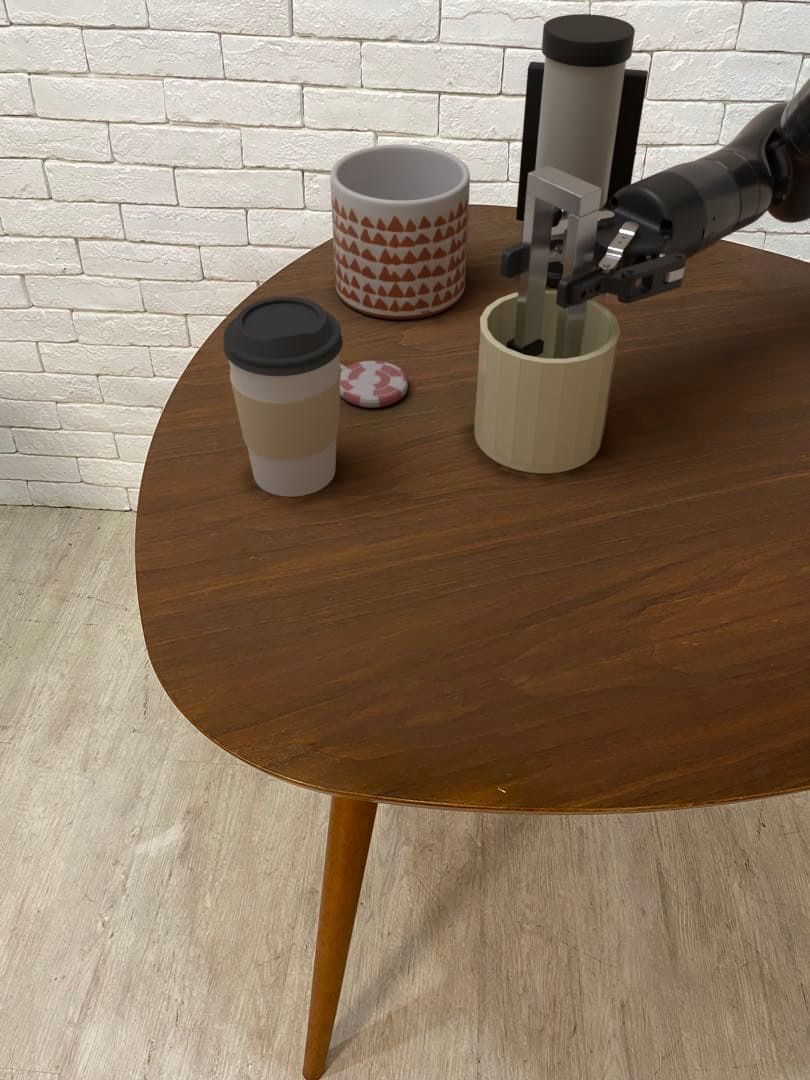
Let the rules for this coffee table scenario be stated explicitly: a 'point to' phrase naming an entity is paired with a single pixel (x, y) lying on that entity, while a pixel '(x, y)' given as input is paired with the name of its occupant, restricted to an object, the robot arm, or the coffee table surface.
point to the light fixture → (582, 108)
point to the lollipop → (372, 383)
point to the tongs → (541, 198)
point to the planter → (400, 230)
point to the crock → (543, 390)
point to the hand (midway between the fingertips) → (532, 280)
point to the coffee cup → (287, 391)
